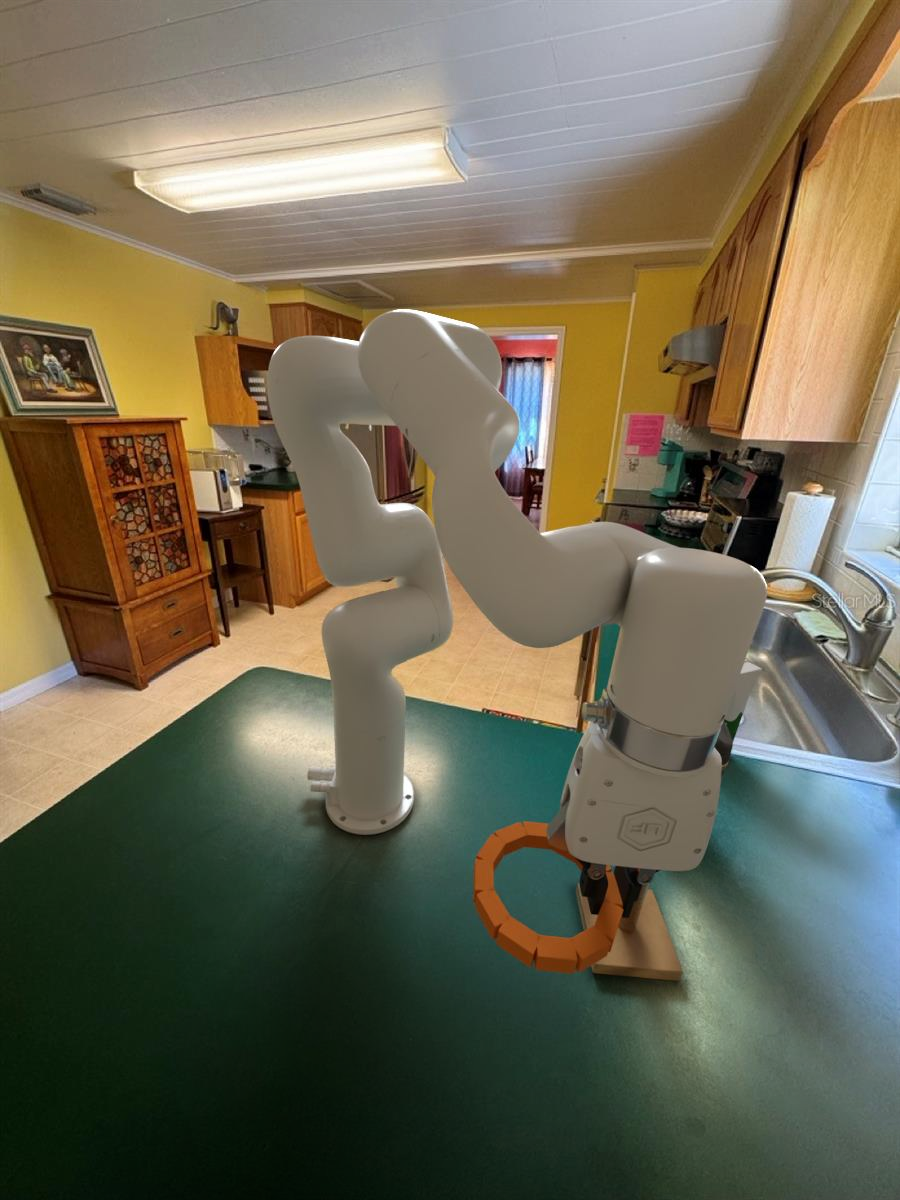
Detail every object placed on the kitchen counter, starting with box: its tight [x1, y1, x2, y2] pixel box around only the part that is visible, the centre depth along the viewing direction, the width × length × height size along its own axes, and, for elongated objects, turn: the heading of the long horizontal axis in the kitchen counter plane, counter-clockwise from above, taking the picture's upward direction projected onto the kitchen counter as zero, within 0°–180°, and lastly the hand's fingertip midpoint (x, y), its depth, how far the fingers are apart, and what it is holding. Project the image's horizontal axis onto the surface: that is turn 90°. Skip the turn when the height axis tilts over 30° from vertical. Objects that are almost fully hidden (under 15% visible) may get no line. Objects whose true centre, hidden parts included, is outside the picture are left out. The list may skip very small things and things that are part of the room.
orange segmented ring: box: [472, 820, 624, 975], centre depth 40 cm, size 12×12×2 cm
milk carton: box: [724, 658, 763, 744], centre depth 80 cm, size 9×9×20 cm
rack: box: [575, 882, 684, 982], centre depth 51 cm, size 9×9×12 cm
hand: (605, 898), depth 40 cm, fingers closed on orange segmented ring, 1 cm apart
